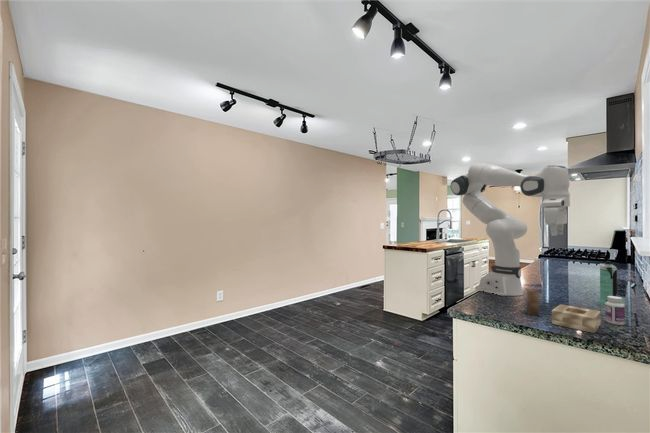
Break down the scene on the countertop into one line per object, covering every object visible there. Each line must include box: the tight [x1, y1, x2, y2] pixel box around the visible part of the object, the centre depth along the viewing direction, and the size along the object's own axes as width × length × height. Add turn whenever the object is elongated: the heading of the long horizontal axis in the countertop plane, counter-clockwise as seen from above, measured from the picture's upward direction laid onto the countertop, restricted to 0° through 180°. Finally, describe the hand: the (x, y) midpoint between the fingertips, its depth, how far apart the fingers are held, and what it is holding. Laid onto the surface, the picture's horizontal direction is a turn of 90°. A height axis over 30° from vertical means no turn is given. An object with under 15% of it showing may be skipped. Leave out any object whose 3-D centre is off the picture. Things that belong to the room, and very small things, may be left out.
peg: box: [526, 288, 540, 317], centre depth 123 cm, size 4×4×10 cm
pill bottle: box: [604, 296, 626, 326], centre depth 112 cm, size 5×5×10 cm
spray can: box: [599, 260, 618, 307], centre depth 133 cm, size 6×6×20 cm
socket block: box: [551, 303, 602, 334], centre depth 111 cm, size 12×12×5 cm
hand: (557, 235), depth 127 cm, fingers open, 8 cm apart
